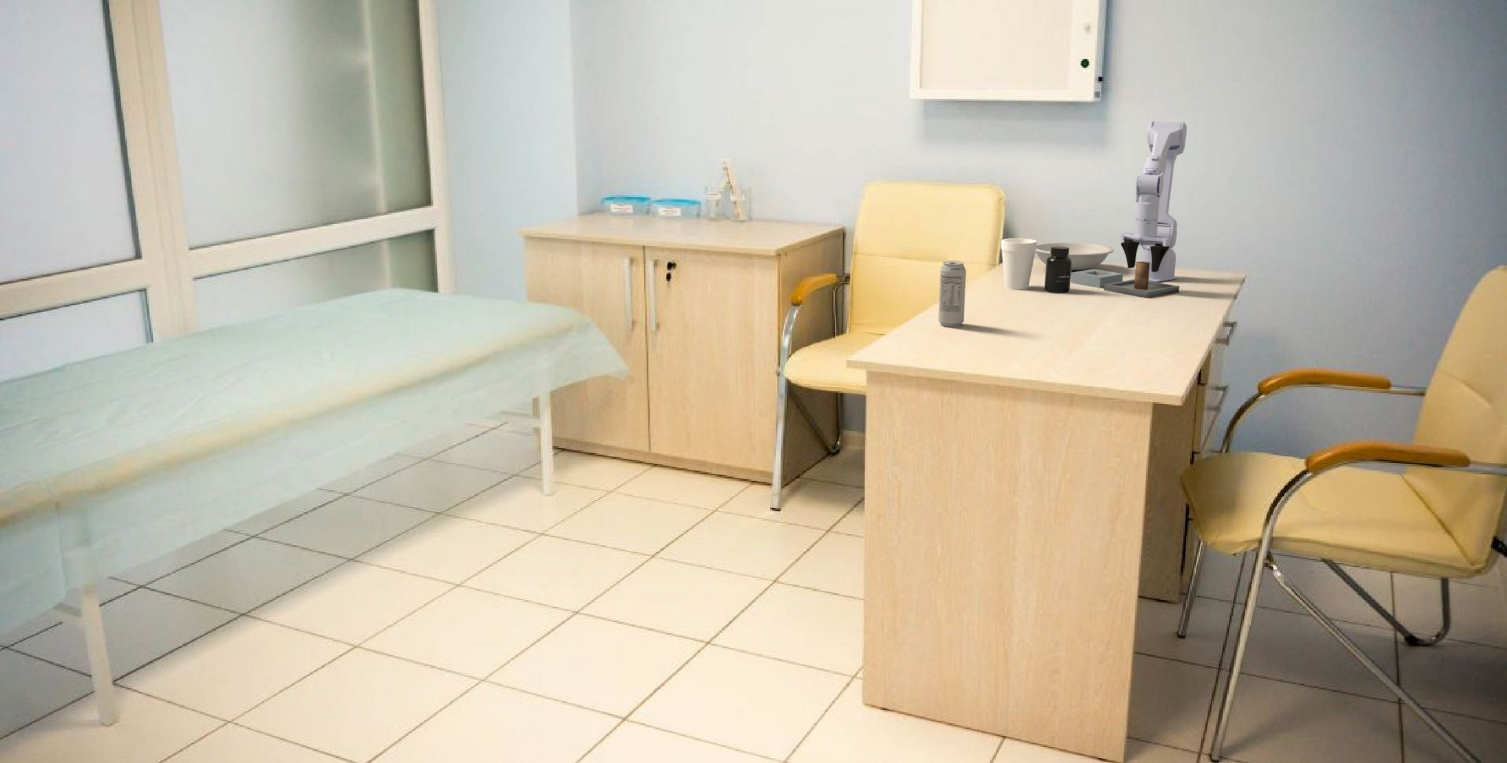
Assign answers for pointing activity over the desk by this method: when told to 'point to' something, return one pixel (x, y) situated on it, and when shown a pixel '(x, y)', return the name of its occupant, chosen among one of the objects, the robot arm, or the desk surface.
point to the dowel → (1142, 275)
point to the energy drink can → (952, 294)
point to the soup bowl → (1077, 253)
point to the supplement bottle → (1058, 270)
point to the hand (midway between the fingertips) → (1142, 269)
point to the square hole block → (1095, 277)
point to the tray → (1152, 290)
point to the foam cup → (1017, 262)
